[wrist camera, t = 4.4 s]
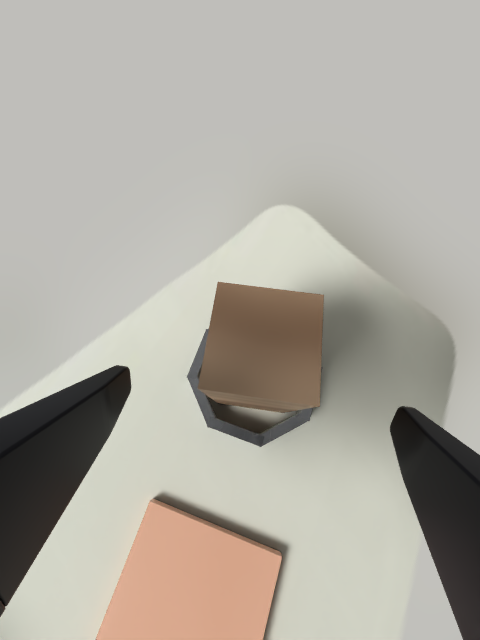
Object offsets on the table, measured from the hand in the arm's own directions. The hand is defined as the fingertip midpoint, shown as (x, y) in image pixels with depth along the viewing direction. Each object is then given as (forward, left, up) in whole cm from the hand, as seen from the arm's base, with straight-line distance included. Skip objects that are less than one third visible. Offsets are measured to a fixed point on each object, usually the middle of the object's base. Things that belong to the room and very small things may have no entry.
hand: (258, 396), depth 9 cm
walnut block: (+2, 0, -10) cm, 10 cm away
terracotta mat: (-11, 0, -10) cm, 15 cm away
